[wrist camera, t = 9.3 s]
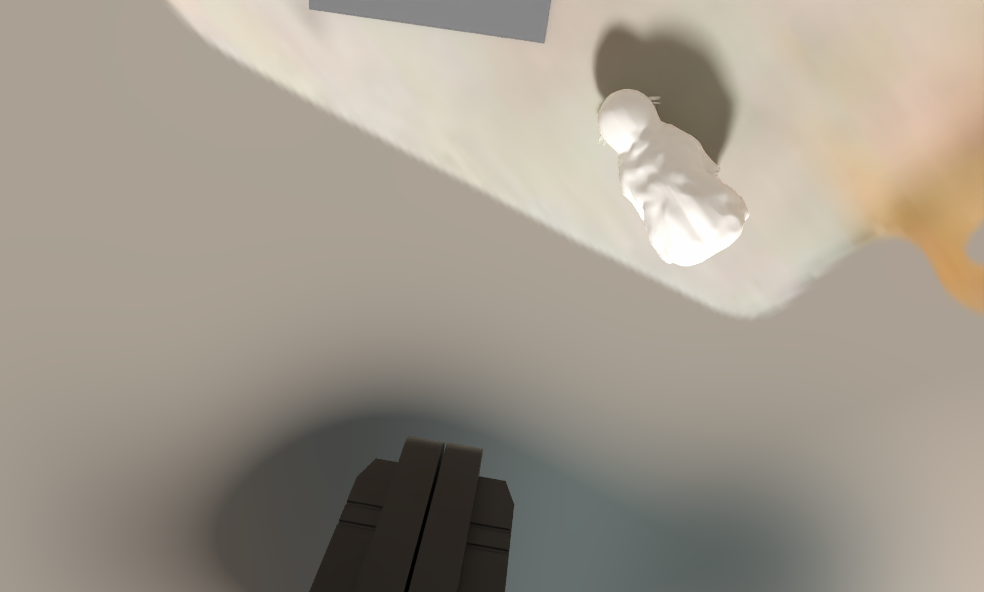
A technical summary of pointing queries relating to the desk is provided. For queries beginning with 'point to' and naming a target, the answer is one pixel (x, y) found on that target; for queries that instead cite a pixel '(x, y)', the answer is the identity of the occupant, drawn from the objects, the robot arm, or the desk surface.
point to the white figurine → (670, 181)
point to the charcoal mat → (454, 14)
